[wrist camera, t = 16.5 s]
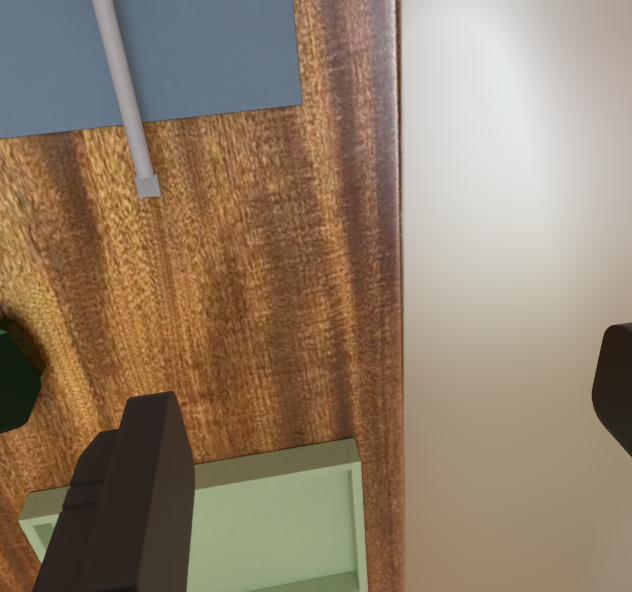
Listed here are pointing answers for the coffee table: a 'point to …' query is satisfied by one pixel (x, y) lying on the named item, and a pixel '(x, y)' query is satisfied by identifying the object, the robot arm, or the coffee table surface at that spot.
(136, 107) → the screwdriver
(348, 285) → the coffee table surface
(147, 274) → the coffee table surface
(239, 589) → the tray
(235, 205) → the coffee table surface
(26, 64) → the mat
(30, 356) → the clover-shaped pad
